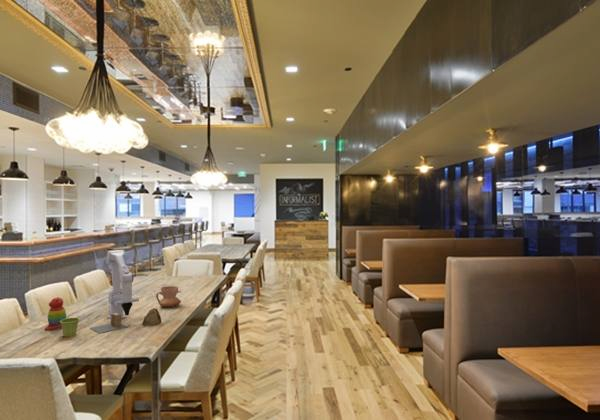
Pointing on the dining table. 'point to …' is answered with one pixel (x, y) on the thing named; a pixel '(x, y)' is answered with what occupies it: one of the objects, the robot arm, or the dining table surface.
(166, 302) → the ceramic jug
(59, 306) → the stacking bear
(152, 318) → the rock
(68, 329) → the plant pot
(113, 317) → the walnut block
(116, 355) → the dining table surface
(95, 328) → the rubber mat
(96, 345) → the dining table surface
